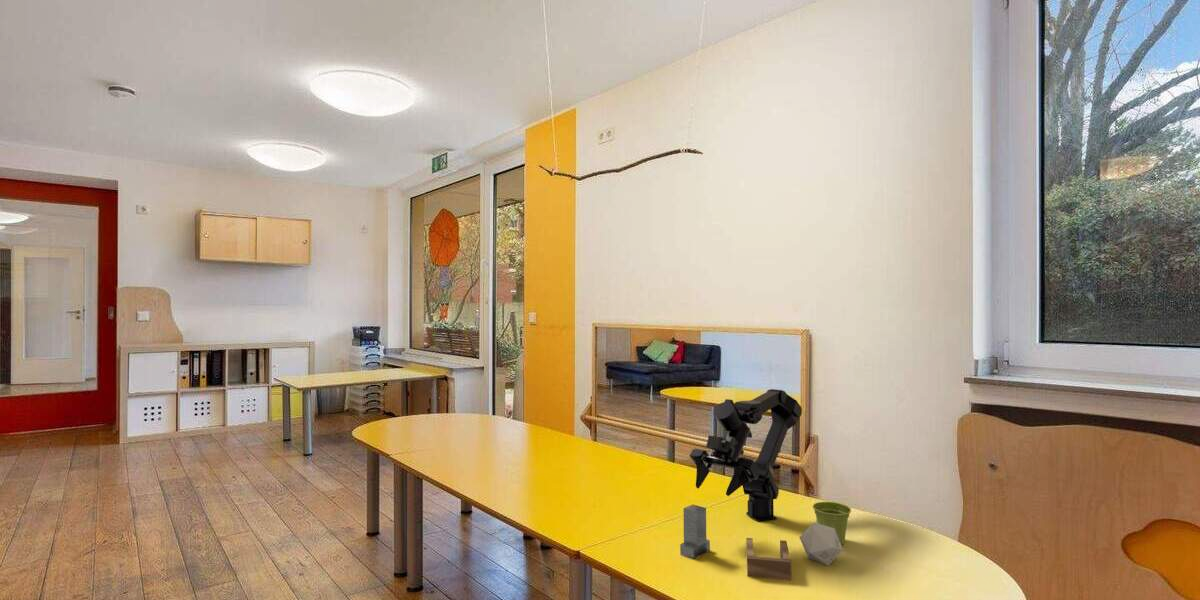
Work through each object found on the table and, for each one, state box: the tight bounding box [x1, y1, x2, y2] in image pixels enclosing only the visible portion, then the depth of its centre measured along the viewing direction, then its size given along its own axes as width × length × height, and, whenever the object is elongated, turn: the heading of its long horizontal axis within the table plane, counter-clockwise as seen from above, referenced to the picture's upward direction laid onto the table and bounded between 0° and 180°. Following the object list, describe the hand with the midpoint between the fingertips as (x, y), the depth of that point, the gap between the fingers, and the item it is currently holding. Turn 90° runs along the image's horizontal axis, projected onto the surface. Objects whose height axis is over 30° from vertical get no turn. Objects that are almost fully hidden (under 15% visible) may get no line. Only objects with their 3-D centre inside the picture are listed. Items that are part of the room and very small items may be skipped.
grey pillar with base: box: [679, 504, 711, 560], centre depth 146 cm, size 7×4×11 cm, turn 136°
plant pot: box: [812, 501, 852, 545], centre depth 152 cm, size 9×9×9 cm
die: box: [799, 522, 844, 566], centre depth 141 cm, size 8×9×10 cm
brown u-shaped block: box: [745, 537, 792, 581], centre depth 138 cm, size 12×10×4 cm
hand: (711, 491), depth 152 cm, fingers open, 9 cm apart
